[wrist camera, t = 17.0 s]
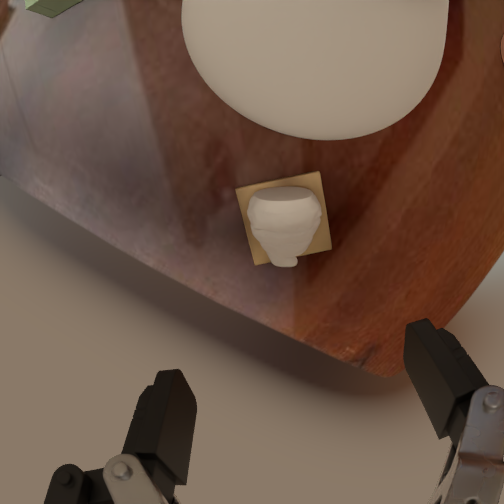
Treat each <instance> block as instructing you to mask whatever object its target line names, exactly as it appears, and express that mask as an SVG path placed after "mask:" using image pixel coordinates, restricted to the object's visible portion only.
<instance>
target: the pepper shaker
mask: <svg viewBox="0 0 504 504" xmlns="http://www.w3.org/2000/svg"><path fill="white" fill-rule="evenodd" d="M500 48H501V55H502V60H503V63H504V35H503V37H502V39H501V47H500Z"/></svg>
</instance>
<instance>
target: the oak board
mask: <svg viewBox="0 0 504 504" xmlns="http://www.w3.org/2000/svg"><path fill="white" fill-rule="evenodd" d="M286 186H289V187H301V188H306V189H309V190H311V191H312V192H313V194H314V195H315V196H316V197H317V199H318V201H319V203H320V205H321V212H322V215H321V216H320V219H321V221H320V224H319V227H318V229H317V230H316V232H315V234H314V235H313V239H312V242H311V243H310V245H309V246H308V248H307V250H306V251H305V252H304V253H302V254H301V255H299V256H303V255H307V254H312V253H317V252H321V251H326V250H331V249H332V244H331V237H330V230H329V224H328V217H327V211H326V205H325V199H324V193H323V187H322V182H321V176H320V172H319V171H313V172H308V173H303V174H298V175H293V176H288V177H283V178H279V179H274V180H269V181H265V182H260V183H256V184H251V185H247V186H242V187H238V188H236V189H235V191H236V195H237V199H238V202H239V206H240V210H241V214H242V218H243V222H244V226H245V230H246V234H247V238H248V241H249V245H250V249H251V253H252V257H253V261H254V265H260V264H264V263H269V262H271V261H270V259H269V257H268V255H267V253H266V251H265V250H264V249H263V248H262V246H261V245H260V242H259V241H258V240H257V239H256V238H255V237H254V235H253V234H252V230H251V226H250V224H251V222H250V220H249V218H248V215H247V210H248V205H249V201H250V198H251V197H252V196H253V195H254V193H255V192H257V191H259V190H262V189H265V188H272V187H286ZM295 257H298V256H295Z"/></svg>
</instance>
